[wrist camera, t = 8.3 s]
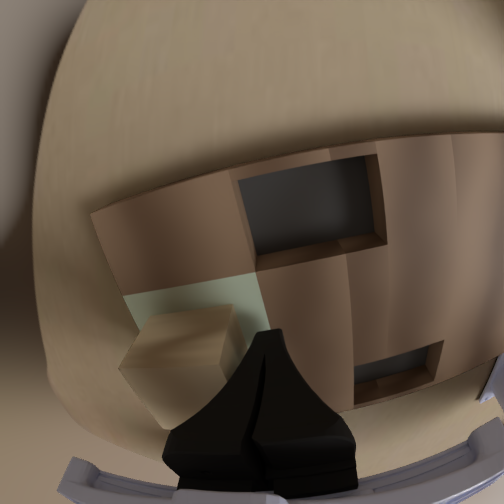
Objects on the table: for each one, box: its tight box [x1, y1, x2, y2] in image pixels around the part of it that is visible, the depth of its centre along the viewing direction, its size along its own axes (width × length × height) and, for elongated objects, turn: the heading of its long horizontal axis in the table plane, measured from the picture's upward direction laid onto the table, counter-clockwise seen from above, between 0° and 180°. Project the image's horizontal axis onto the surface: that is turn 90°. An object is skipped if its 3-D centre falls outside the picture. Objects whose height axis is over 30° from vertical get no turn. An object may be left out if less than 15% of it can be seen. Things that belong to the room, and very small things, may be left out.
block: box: [118, 304, 248, 430], centre depth 12 cm, size 4×4×4 cm
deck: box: [90, 131, 504, 413], centre depth 14 cm, size 26×16×2 cm, turn 104°
